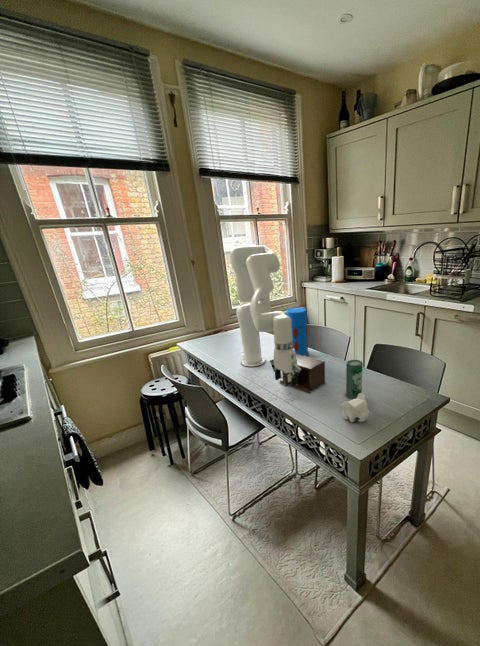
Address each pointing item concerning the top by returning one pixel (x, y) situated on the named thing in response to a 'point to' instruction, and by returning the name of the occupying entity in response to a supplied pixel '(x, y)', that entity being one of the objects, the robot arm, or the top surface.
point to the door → (288, 378)
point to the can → (353, 378)
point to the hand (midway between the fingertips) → (286, 381)
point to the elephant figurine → (356, 409)
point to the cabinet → (309, 374)
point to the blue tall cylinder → (299, 330)
